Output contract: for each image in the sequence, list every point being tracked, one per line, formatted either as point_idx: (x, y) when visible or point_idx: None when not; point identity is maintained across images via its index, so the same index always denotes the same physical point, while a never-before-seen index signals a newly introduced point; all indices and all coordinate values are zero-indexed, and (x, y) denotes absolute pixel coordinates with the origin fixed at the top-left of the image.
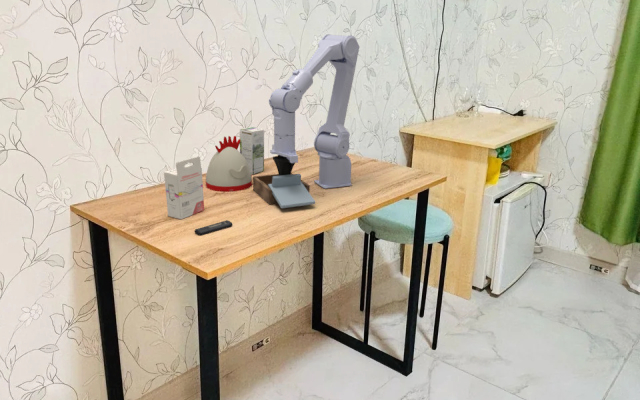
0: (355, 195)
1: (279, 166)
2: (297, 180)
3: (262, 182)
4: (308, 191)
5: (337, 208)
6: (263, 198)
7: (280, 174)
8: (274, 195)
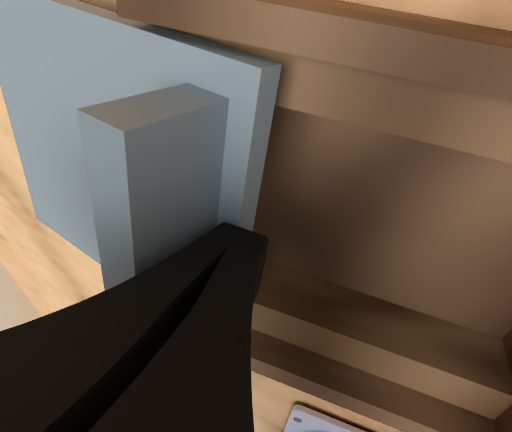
0: None
1: (25, 338)
2: None
3: (469, 86)
4: None
5: (54, 263)
6: (353, 4)
7: (165, 266)
8: (98, 12)
